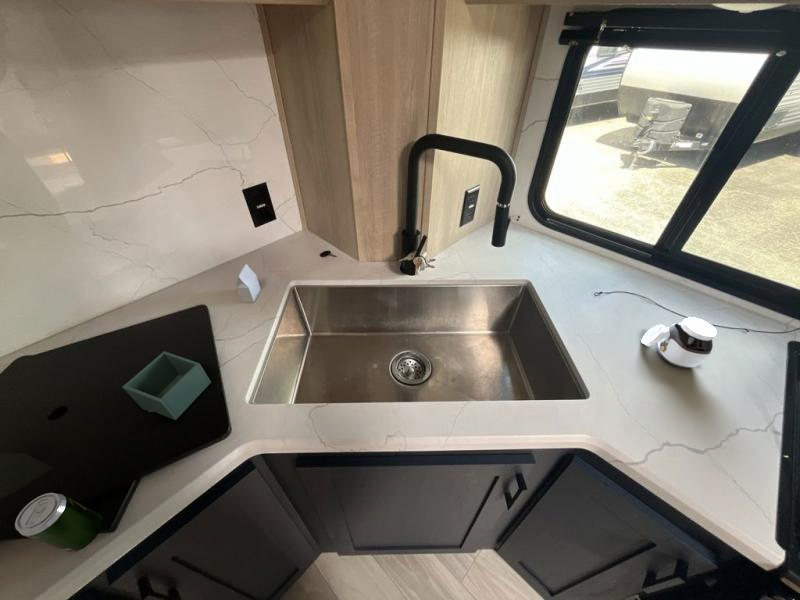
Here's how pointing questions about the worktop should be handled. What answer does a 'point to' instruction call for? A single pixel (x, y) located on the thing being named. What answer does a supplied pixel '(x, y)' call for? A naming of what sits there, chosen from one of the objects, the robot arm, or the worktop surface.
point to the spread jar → (682, 341)
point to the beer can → (59, 522)
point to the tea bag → (247, 285)
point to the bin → (168, 385)
